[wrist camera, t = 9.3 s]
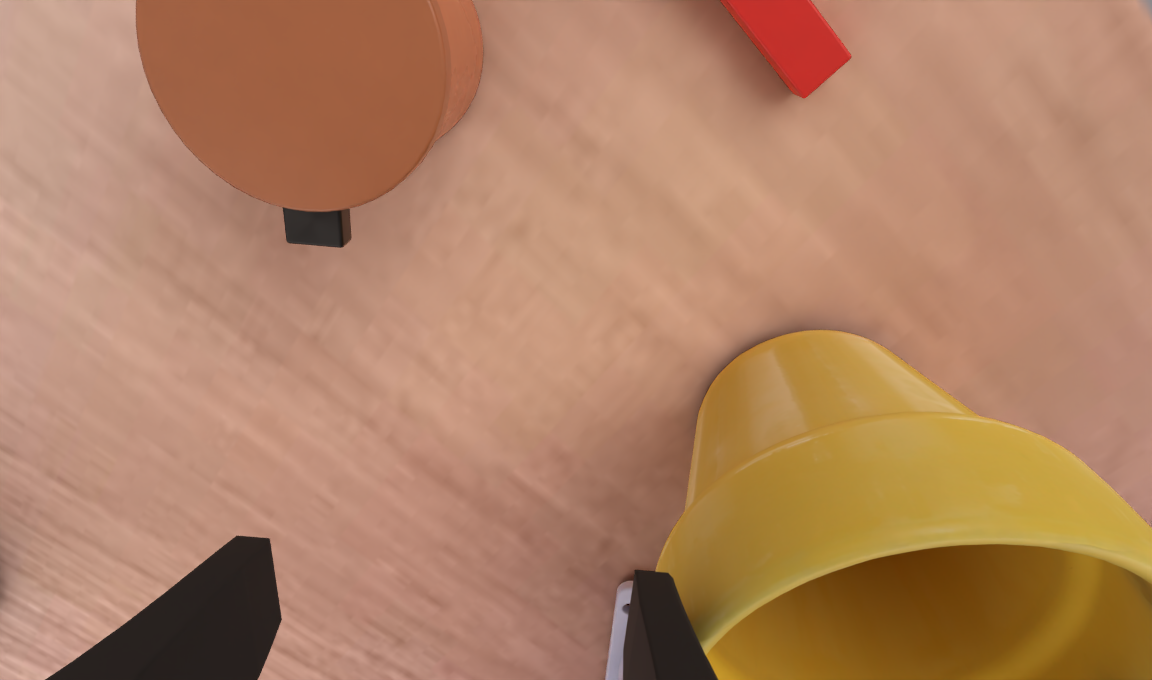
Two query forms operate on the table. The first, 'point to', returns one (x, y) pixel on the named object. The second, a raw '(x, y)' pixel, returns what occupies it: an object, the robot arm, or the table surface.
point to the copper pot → (311, 94)
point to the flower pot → (897, 532)
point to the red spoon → (791, 40)
